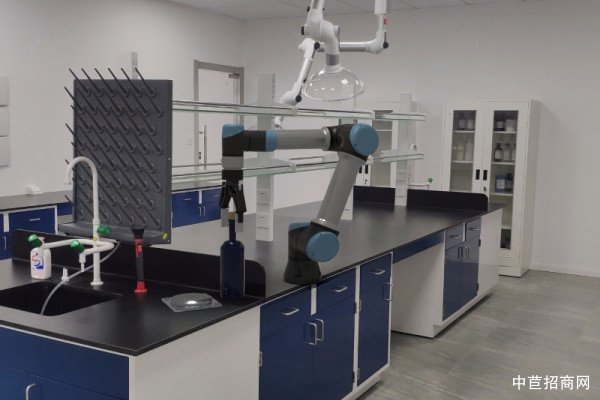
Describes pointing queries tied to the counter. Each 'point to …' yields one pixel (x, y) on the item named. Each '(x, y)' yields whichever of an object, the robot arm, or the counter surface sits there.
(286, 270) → the robot arm
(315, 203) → the counter surface
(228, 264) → the bottle
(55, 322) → the counter surface
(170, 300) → the flange plate
